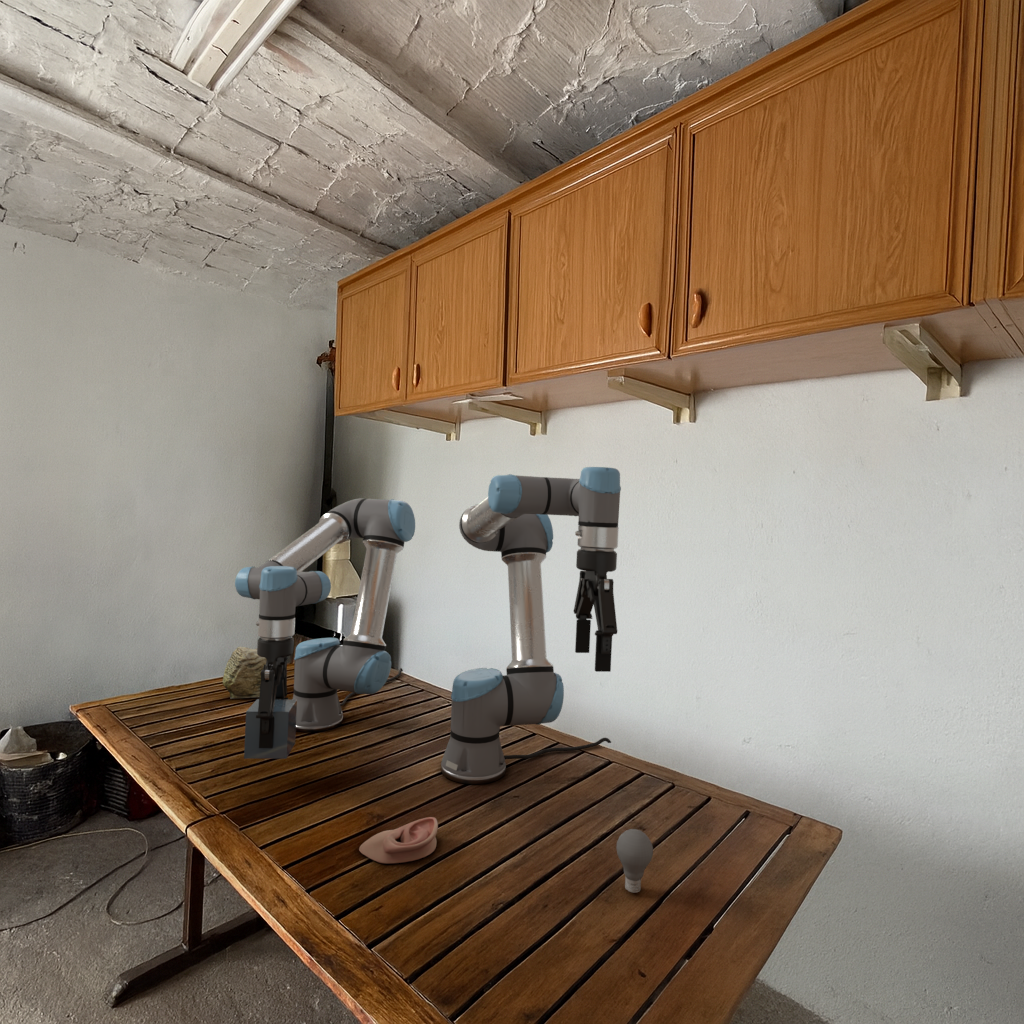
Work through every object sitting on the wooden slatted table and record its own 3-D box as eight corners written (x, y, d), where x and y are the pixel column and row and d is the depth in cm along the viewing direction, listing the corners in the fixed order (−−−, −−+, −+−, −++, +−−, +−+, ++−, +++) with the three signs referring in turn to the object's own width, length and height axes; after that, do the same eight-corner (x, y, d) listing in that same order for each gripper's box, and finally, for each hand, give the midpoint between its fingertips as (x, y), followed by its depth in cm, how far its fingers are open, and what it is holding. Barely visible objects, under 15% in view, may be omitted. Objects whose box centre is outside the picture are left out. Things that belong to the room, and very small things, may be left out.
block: (255, 743, 143) (257, 699, 143) (295, 743, 144) (297, 699, 144) (243, 758, 135) (246, 711, 135) (286, 758, 136) (288, 711, 136)
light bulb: (610, 879, 108) (613, 822, 108) (644, 879, 109) (647, 822, 109) (619, 902, 102) (622, 840, 102) (655, 901, 103) (658, 840, 103)
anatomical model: (352, 836, 111) (378, 805, 123) (351, 858, 111) (377, 826, 123) (423, 847, 109) (444, 815, 120) (422, 870, 109) (443, 836, 120)
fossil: (218, 695, 195) (220, 647, 195) (278, 685, 208) (279, 640, 207) (228, 703, 189) (230, 653, 188) (289, 692, 201) (290, 645, 201)
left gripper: (270, 627, 149) (266, 722, 150) (243, 647, 128) (238, 758, 128) (303, 627, 150) (299, 722, 150) (282, 648, 129) (277, 758, 129)
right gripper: (562, 543, 131) (557, 645, 131) (597, 554, 106) (591, 680, 107) (597, 544, 132) (592, 645, 133) (639, 556, 108) (633, 680, 108)
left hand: (271, 739), depth 139 cm, fingers closed on block, 8 cm apart
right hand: (591, 661), depth 120 cm, fingers open, 13 cm apart
